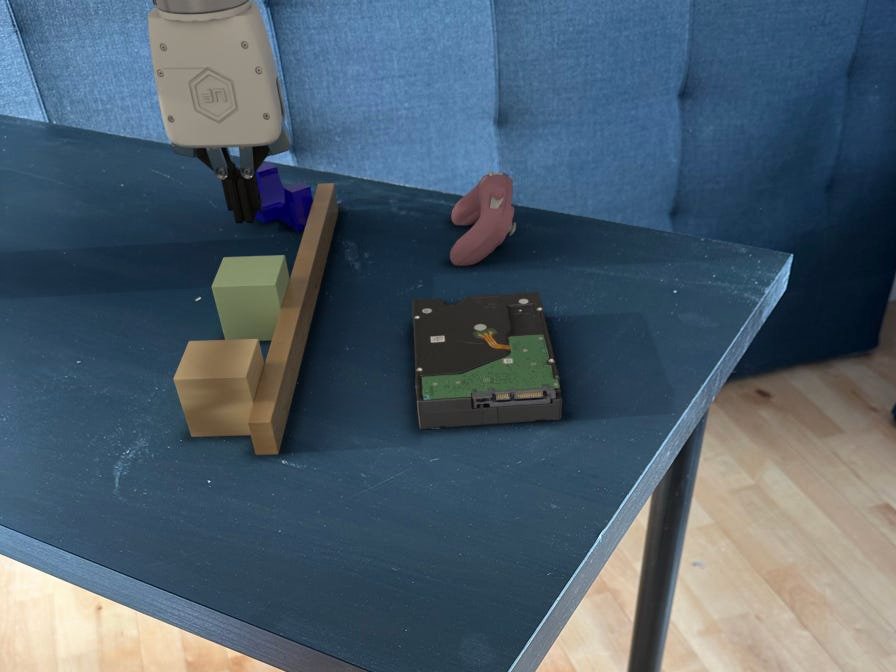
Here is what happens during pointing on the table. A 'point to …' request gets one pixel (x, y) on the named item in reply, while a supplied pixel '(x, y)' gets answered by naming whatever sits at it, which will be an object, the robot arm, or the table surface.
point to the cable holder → (283, 199)
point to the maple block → (219, 385)
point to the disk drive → (484, 362)
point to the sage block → (250, 295)
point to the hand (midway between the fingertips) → (247, 217)
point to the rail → (293, 326)
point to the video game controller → (483, 219)
